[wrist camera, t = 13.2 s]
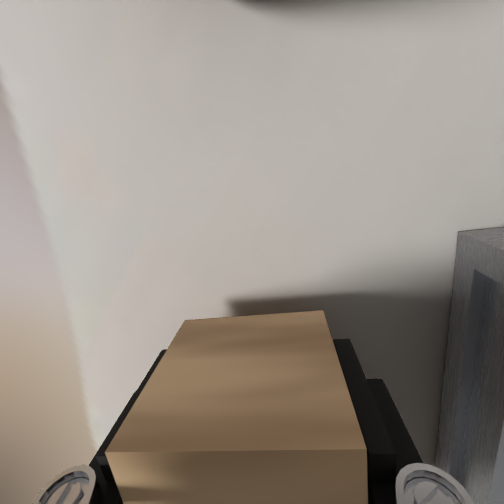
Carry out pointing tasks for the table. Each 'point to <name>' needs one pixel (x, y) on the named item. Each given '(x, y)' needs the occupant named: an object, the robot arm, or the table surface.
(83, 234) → the table surface
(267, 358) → the cardboard-coloured box
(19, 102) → the table surface
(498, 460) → the grey shallow tray
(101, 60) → the table surface
